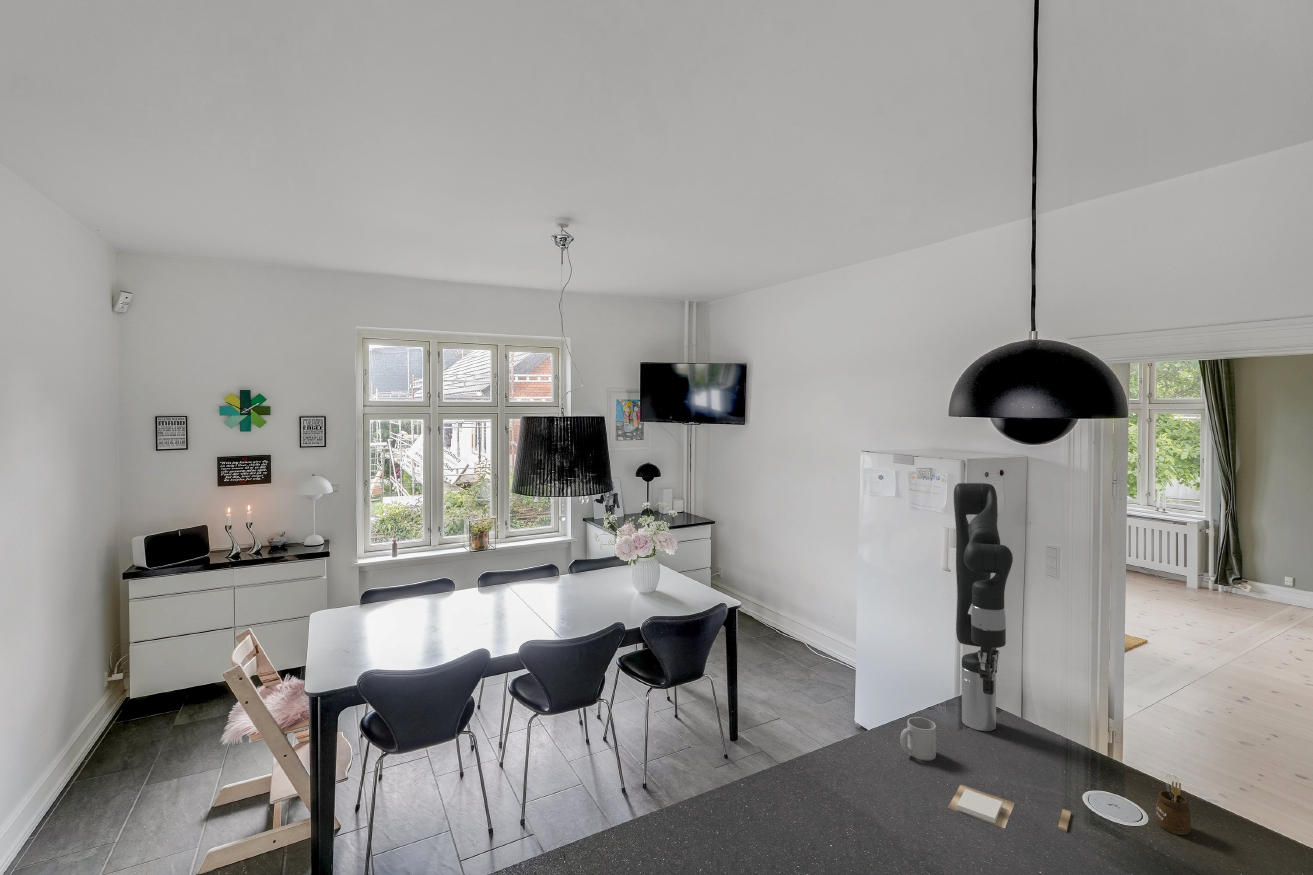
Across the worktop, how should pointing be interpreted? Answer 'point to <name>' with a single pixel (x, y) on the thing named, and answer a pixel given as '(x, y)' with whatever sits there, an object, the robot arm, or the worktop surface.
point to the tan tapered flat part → (1064, 820)
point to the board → (1006, 805)
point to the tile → (979, 806)
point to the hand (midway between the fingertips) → (988, 693)
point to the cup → (919, 738)
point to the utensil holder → (1173, 811)
